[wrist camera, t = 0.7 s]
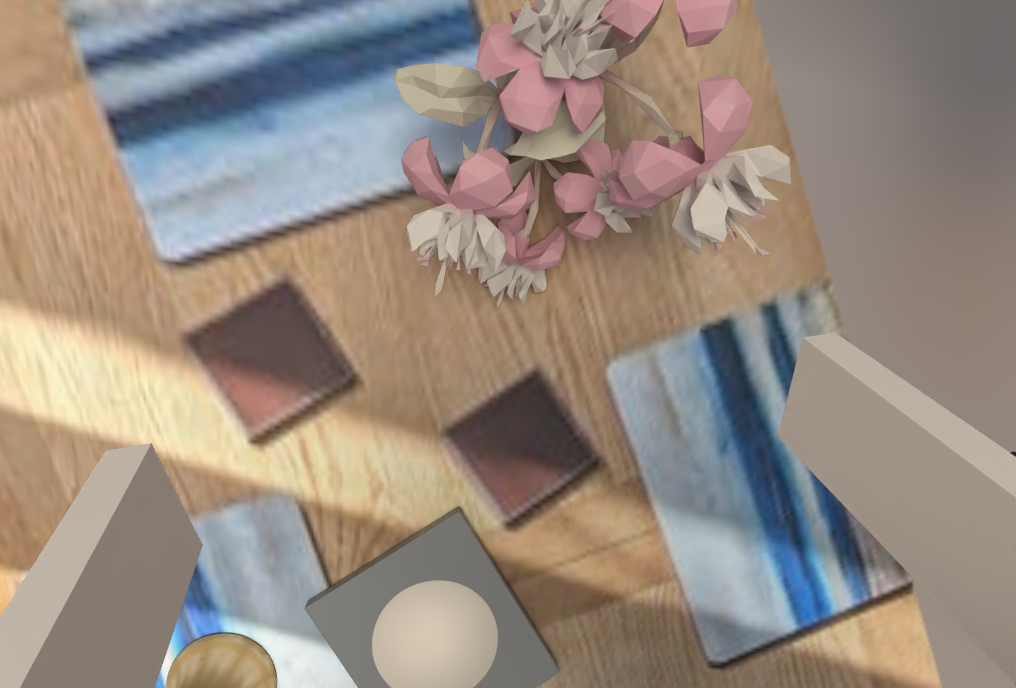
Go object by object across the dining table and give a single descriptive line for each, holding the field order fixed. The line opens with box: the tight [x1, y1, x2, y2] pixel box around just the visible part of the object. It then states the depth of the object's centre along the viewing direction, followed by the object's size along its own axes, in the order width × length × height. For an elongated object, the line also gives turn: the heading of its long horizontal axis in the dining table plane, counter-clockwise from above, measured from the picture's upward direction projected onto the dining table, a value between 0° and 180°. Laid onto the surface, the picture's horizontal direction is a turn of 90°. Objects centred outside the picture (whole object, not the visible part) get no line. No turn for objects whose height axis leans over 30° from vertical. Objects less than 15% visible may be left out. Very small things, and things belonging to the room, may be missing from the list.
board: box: [305, 507, 560, 688], centre depth 45 cm, size 16×14×1 cm
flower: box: [393, 0, 791, 309], centre depth 35 cm, size 20×22×25 cm
